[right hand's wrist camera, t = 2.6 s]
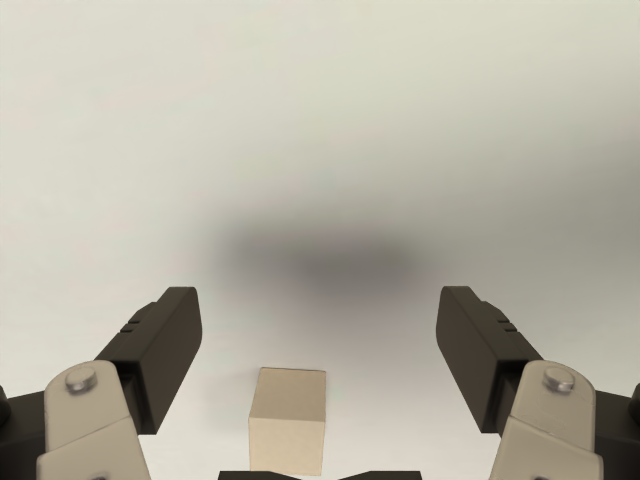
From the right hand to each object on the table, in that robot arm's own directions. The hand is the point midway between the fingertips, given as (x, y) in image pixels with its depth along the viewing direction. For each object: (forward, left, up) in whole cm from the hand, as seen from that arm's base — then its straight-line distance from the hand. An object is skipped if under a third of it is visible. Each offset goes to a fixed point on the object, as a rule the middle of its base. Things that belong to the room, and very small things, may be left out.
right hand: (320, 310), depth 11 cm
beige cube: (-12, +8, -11) cm, 19 cm away
